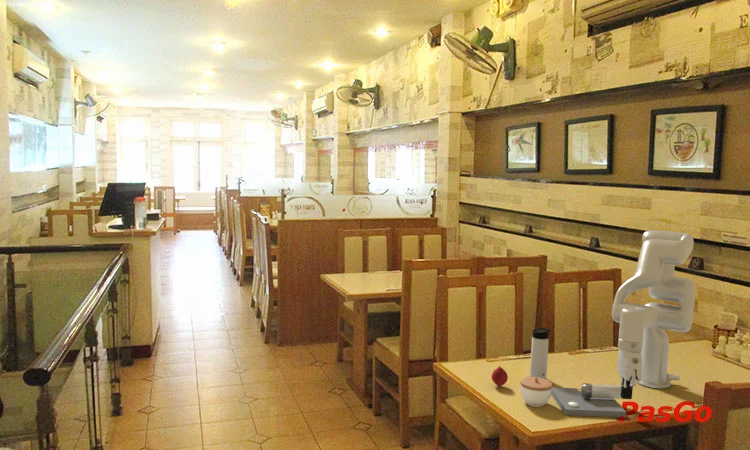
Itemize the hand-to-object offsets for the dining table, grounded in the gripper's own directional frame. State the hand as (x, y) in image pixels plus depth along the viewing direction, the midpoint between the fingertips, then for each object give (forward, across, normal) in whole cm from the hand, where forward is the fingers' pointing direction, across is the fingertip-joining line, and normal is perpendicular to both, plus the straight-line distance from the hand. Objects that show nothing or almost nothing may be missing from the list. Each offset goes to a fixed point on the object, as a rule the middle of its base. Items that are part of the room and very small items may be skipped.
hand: (626, 398), depth 206 cm
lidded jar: (+6, +6, +29) cm, 30 cm away
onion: (+6, +22, +39) cm, 45 cm away
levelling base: (+6, +8, +11) cm, 14 cm away
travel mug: (+6, +32, +22) cm, 39 cm away
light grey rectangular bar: (+3, +7, +5) cm, 10 cm away
